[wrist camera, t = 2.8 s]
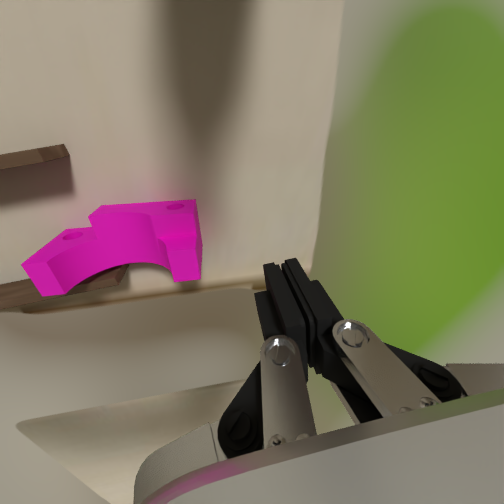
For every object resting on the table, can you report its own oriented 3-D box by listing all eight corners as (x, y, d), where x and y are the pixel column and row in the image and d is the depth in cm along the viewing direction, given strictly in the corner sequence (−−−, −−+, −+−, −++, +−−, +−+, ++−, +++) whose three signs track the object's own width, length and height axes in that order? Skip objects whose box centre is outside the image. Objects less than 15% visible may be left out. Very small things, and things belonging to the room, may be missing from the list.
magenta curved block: (195, 198, 27) (191, 224, 20) (202, 244, 30) (200, 279, 23) (56, 207, 25) (3, 239, 18) (80, 255, 28) (42, 296, 22)
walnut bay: (-141, 178, 20) (-211, 190, 17) (63, 144, 22) (36, 148, 18) (-17, 295, 28) (-48, 319, 25) (129, 265, 29) (118, 284, 26)
